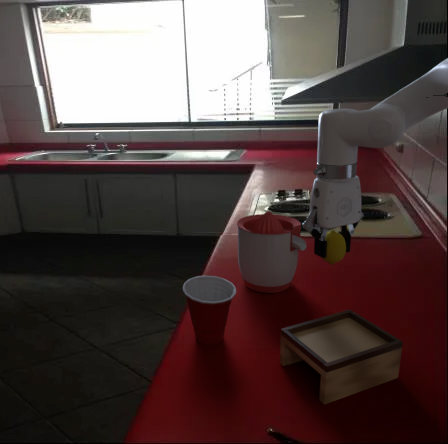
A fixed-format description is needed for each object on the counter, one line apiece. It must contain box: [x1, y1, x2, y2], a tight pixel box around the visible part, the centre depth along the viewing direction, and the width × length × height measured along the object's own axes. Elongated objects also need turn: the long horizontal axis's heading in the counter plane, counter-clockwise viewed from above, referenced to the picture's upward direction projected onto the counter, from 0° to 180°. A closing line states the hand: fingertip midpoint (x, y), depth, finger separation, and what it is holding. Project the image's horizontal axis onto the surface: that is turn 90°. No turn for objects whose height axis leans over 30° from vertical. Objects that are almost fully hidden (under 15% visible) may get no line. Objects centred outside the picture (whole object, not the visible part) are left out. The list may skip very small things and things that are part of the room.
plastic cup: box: [182, 275, 237, 346], centre depth 86 cm, size 11×11×12 cm
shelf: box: [279, 309, 404, 405], centre depth 75 cm, size 16×12×7 cm
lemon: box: [320, 229, 347, 266], centre depth 91 cm, size 6×6×8 cm
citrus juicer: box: [236, 210, 307, 294], centre depth 106 cm, size 16×17×20 cm
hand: (332, 252), depth 91 cm, fingers closed on lemon, 5 cm apart
